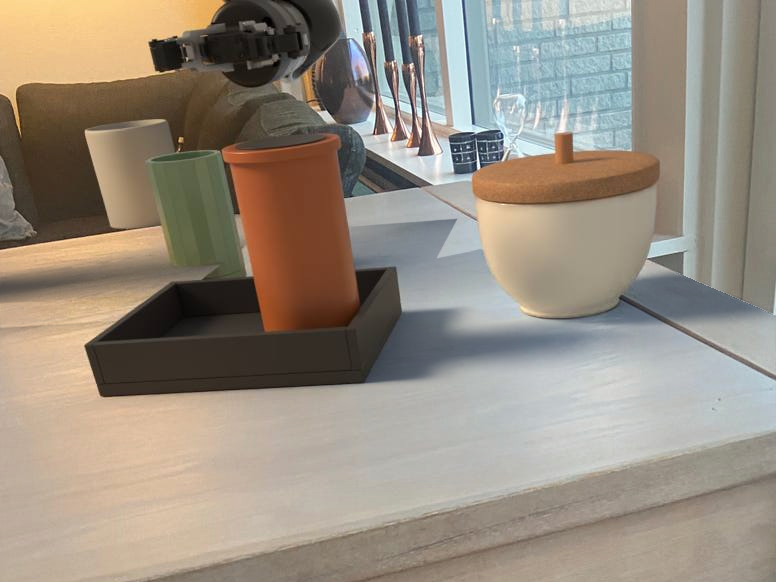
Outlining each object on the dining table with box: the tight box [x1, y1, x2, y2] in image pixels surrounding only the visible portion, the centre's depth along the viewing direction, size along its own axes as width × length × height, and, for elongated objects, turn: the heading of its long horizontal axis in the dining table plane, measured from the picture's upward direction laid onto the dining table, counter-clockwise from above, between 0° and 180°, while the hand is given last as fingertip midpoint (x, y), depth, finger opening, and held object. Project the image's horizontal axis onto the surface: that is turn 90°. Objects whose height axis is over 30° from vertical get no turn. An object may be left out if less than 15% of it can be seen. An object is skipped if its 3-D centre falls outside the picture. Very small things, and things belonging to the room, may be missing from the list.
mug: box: [84, 118, 176, 229], centre depth 103 cm, size 12×8×11 cm
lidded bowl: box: [471, 131, 661, 319], centre depth 66 cm, size 13×13×11 cm
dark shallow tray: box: [83, 266, 403, 397], centre depth 65 cm, size 17×15×3 cm
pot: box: [221, 133, 361, 332], centre depth 60 cm, size 7×7×12 cm
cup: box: [145, 149, 248, 280], centre depth 83 cm, size 6×6×10 cm
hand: (207, 52), depth 85 cm, fingers open, 8 cm apart
